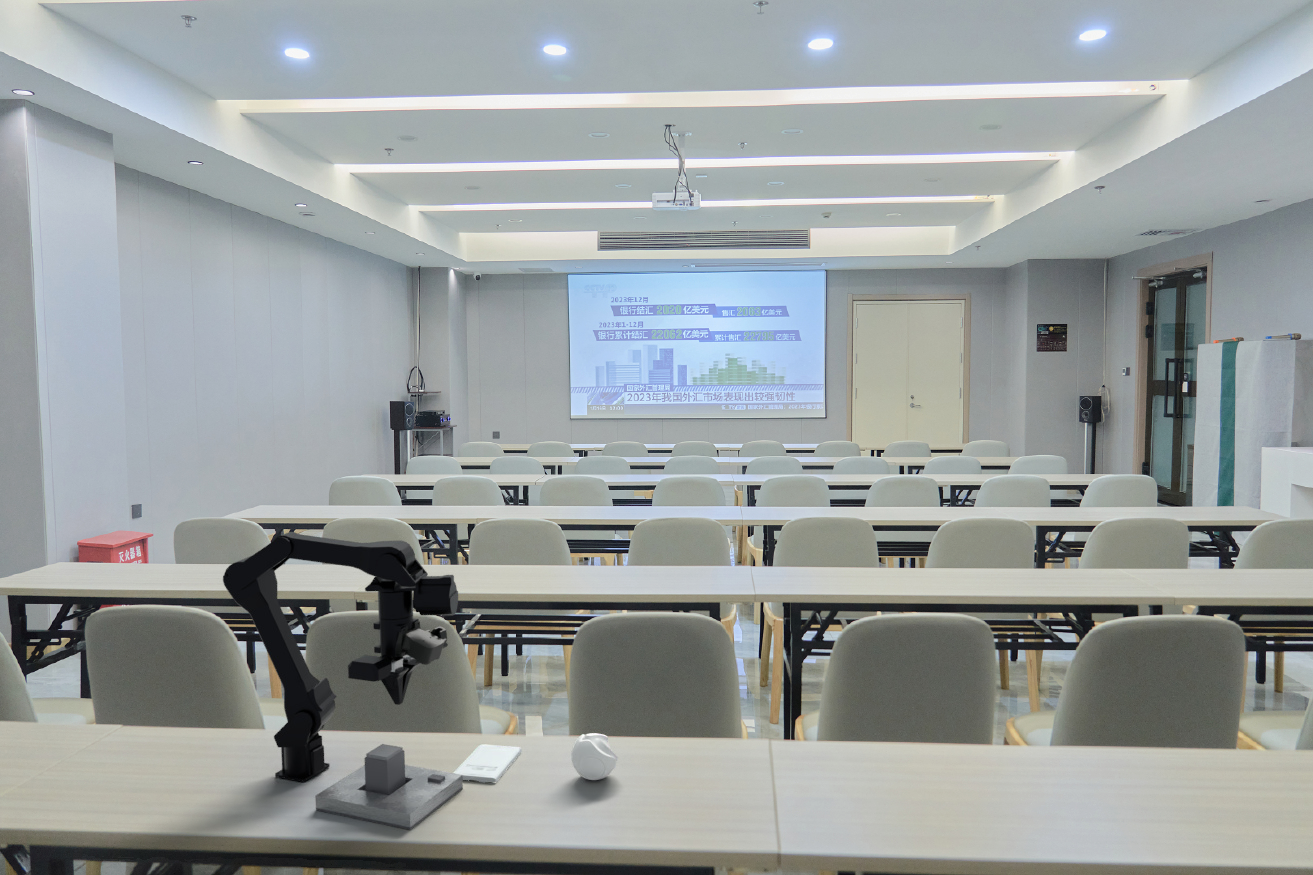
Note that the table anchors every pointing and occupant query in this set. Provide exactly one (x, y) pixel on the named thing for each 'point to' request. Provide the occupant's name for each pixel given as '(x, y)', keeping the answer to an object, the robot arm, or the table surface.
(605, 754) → the motion sensor
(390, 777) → the plug
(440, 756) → the table surface
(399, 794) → the socket
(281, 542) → the robot arm
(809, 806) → the table surface
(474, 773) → the external hard drive
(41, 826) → the table surface
